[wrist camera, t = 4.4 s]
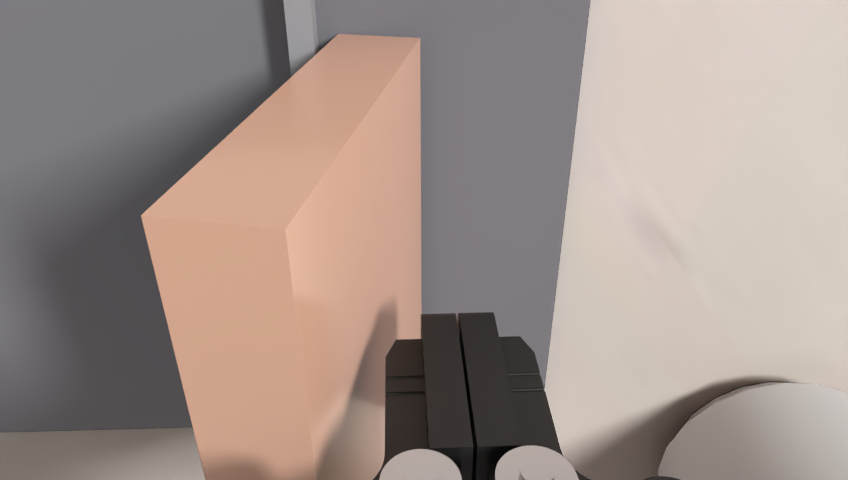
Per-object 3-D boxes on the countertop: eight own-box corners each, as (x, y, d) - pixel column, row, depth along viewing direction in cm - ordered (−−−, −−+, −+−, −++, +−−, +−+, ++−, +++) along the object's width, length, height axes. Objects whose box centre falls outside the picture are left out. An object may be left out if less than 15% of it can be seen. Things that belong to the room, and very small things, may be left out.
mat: (598, -109, 16) (612, -103, 15) (539, 409, 24) (545, 435, 23) (-319, -104, 15) (-370, -97, 14) (-54, 425, 23) (-74, 453, 22)
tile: (420, 37, 16) (285, 228, 9) (421, 361, 22) (337, 655, 14) (332, 33, 17) (130, 214, 9) (354, 353, 22) (237, 635, 14)
